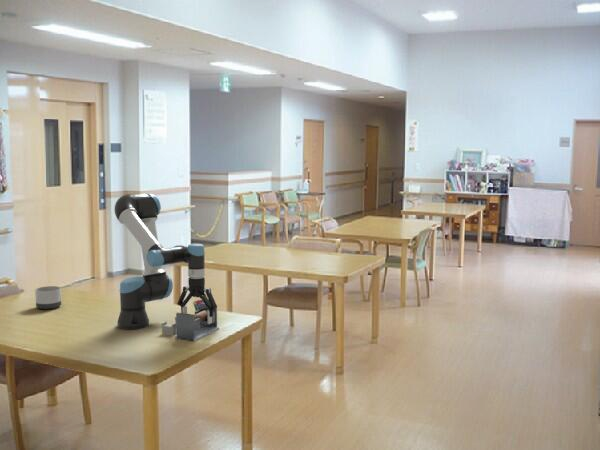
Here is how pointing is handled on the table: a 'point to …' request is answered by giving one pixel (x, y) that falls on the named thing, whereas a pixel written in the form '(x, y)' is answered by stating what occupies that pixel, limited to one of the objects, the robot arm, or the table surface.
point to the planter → (48, 297)
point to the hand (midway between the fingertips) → (197, 321)
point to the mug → (197, 304)
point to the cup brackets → (192, 323)
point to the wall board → (202, 332)
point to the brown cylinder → (201, 315)
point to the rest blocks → (169, 328)
